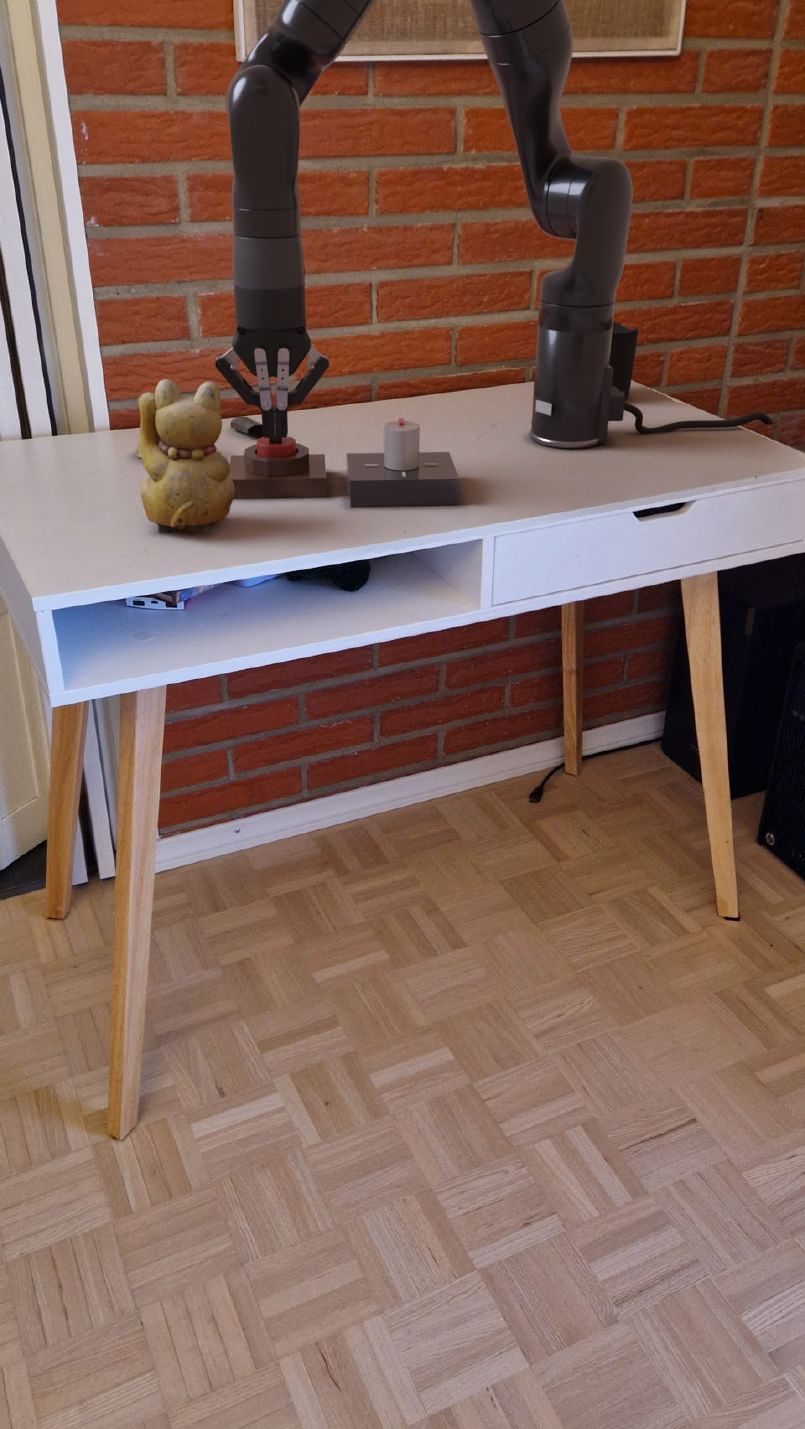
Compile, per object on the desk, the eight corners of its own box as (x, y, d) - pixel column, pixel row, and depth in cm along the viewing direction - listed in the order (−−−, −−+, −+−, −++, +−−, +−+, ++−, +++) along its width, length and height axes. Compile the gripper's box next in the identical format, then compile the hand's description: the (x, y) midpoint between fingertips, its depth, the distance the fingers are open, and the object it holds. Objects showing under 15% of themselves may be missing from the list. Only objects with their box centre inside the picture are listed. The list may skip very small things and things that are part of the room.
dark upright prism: (564, 403, 168) (570, 331, 164) (567, 387, 177) (572, 318, 172) (631, 407, 167) (638, 334, 162) (631, 390, 175) (638, 321, 170)
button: (296, 449, 136) (295, 435, 135) (296, 461, 133) (295, 446, 132) (257, 450, 136) (257, 435, 135) (256, 462, 132) (256, 446, 131)
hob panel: (448, 476, 139) (449, 450, 138) (458, 505, 130) (459, 477, 129) (346, 478, 138) (346, 452, 137) (350, 507, 130) (349, 479, 128)
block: (247, 440, 151) (246, 426, 150) (227, 429, 156) (226, 415, 155) (272, 436, 153) (272, 422, 152) (252, 425, 157) (251, 411, 157)
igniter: (325, 472, 140) (324, 439, 138) (326, 497, 132) (326, 462, 130) (231, 473, 139) (229, 440, 138) (228, 498, 132) (225, 463, 130)
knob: (420, 470, 131) (420, 428, 129) (384, 470, 131) (384, 428, 129) (418, 459, 135) (418, 418, 132) (383, 460, 135) (383, 418, 132)
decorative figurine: (236, 513, 128) (228, 372, 120) (236, 540, 121) (227, 393, 113) (146, 515, 127) (131, 374, 119) (140, 543, 119) (124, 395, 112)
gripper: (203, 286, 121) (214, 451, 130) (332, 285, 122) (335, 450, 131) (208, 274, 128) (218, 432, 136) (330, 274, 129) (333, 431, 137)
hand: (275, 441), depth 133 cm, fingers closed
